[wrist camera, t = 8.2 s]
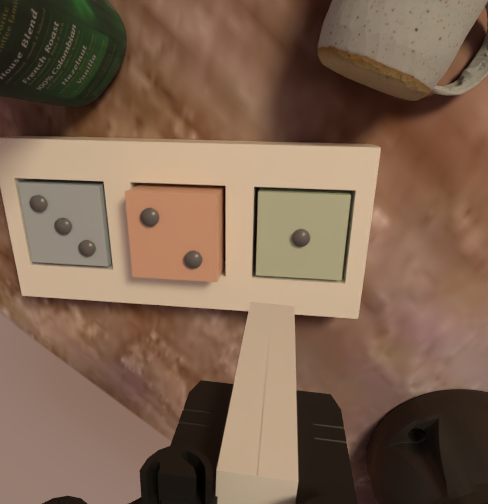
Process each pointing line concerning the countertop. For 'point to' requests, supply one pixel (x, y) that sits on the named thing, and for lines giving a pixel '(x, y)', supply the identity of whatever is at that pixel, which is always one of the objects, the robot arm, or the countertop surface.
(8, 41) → the coffee jar
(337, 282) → the button panel
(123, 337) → the countertop surface
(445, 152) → the countertop surface
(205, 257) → the two-pip button
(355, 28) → the ceramic mug
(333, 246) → the one-pip button
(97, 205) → the three-pip button
